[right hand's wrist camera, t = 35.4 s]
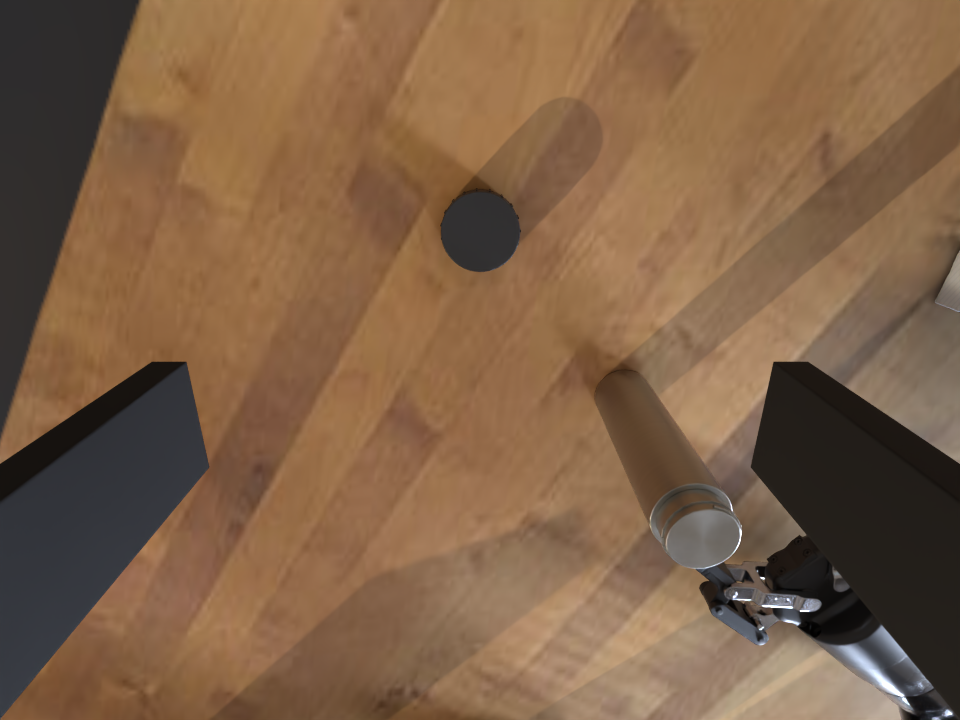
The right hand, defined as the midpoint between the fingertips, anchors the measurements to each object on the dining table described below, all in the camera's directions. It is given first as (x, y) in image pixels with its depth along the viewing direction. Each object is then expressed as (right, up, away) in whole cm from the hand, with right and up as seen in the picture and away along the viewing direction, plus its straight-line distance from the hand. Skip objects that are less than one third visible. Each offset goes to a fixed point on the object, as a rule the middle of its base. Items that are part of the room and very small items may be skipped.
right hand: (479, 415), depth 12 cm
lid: (0, +10, +24) cm, 26 cm away
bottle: (+11, -1, +30) cm, 32 cm away
